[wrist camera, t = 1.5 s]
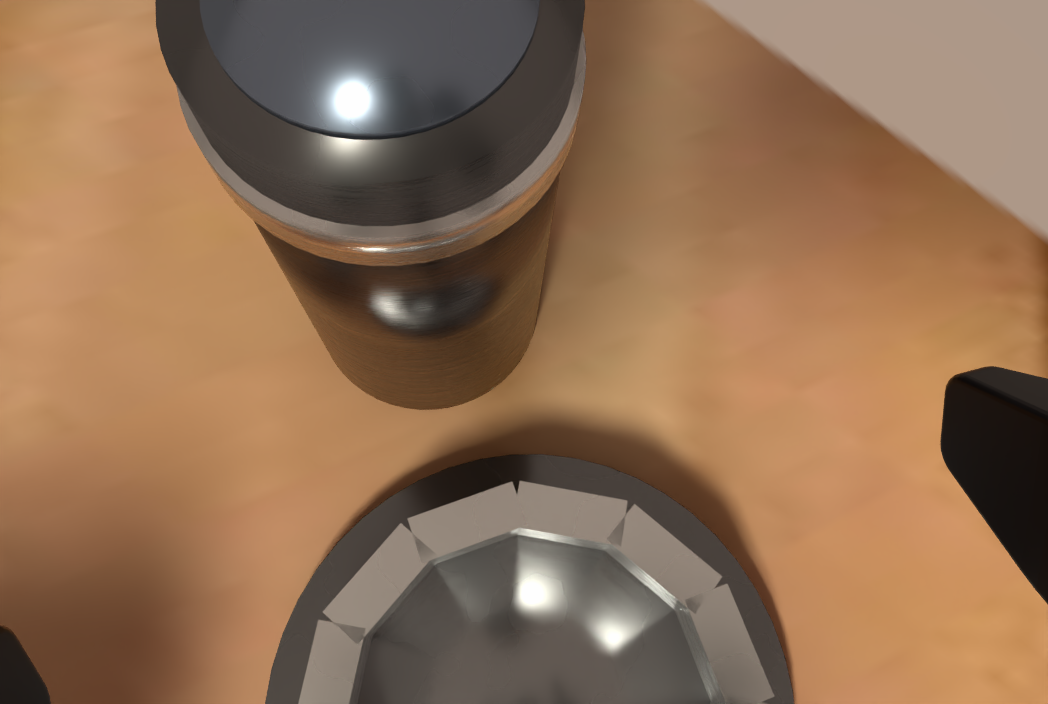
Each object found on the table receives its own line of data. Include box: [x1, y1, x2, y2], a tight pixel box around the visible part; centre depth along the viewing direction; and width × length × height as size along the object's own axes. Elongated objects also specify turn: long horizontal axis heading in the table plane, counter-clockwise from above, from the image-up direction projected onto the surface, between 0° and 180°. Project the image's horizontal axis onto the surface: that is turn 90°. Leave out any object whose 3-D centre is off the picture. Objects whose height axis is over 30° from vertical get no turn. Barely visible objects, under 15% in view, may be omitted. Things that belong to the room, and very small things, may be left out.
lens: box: [156, 0, 586, 410], centre depth 17 cm, size 6×6×12 cm
